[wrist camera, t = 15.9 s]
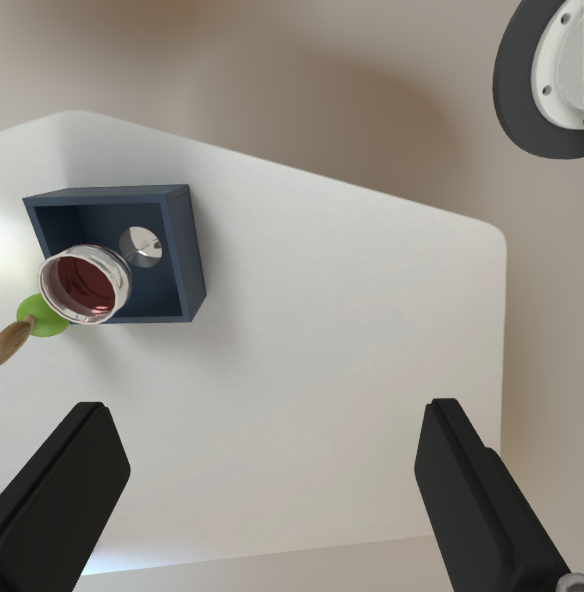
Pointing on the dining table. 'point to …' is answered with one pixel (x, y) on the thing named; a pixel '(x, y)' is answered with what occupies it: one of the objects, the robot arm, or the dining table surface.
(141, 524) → the dining table surface
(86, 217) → the box
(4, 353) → the snail on green ball
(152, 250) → the wineglass
